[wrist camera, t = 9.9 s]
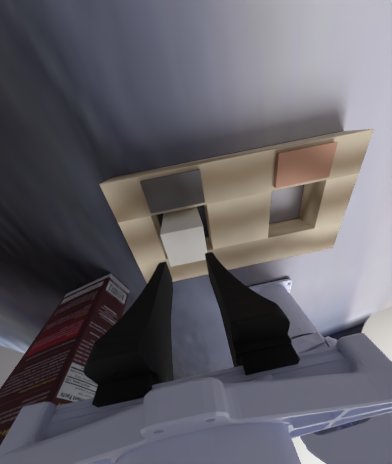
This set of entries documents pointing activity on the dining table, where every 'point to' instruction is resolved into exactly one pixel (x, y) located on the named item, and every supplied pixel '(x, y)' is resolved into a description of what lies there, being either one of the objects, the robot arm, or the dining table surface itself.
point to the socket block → (242, 201)
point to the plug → (183, 236)
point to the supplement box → (63, 351)
